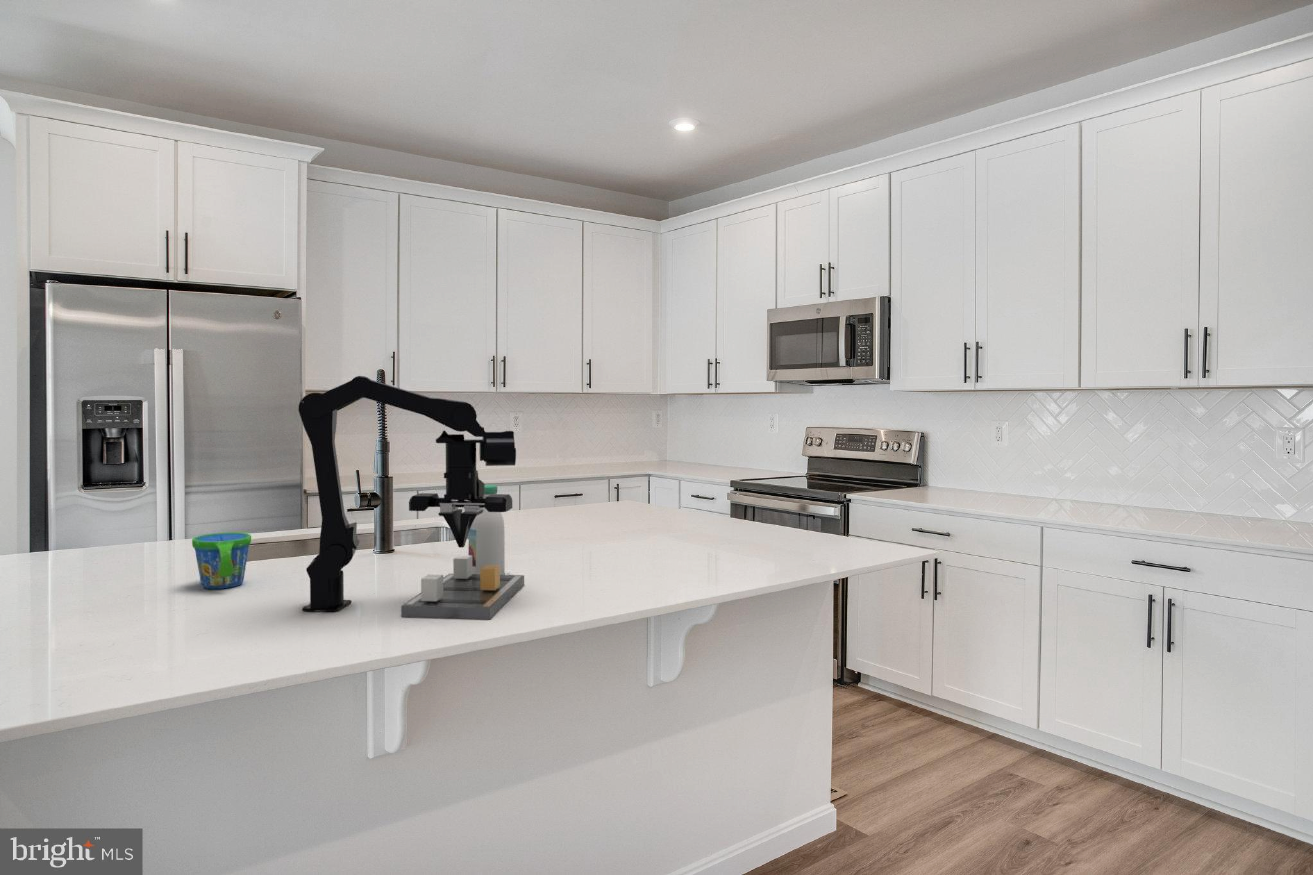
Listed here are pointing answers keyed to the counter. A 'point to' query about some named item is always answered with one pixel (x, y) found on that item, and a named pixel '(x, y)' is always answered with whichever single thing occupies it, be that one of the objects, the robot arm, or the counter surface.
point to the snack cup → (221, 559)
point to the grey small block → (431, 587)
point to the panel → (465, 599)
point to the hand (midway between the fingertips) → (461, 547)
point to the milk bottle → (487, 538)
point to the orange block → (490, 577)
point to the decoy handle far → (462, 566)
